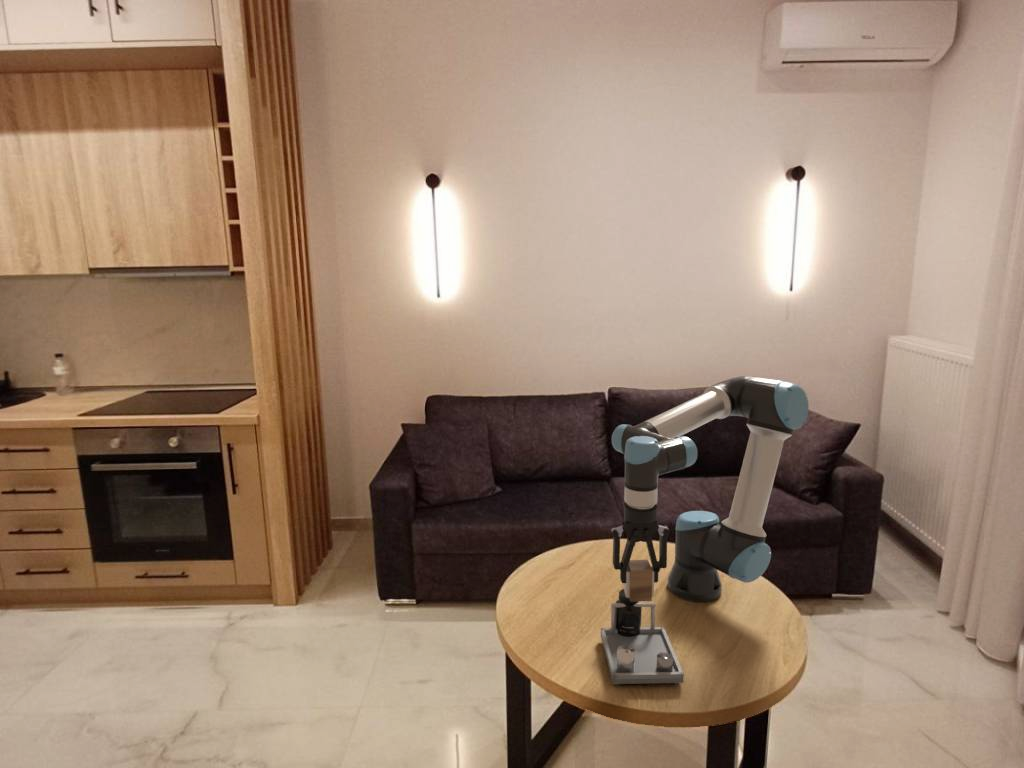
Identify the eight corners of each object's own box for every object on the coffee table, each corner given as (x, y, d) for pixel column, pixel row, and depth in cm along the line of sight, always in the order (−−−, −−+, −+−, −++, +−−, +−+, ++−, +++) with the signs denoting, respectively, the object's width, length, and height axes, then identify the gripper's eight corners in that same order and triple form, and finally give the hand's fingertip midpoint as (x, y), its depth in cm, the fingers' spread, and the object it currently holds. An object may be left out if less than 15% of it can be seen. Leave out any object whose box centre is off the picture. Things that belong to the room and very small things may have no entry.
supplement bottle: (624, 646, 153) (625, 603, 151) (608, 632, 159) (608, 590, 156) (646, 638, 156) (647, 595, 154) (629, 625, 162) (630, 583, 160)
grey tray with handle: (663, 638, 157) (664, 601, 154) (683, 687, 139) (684, 645, 137) (600, 640, 157) (601, 602, 154) (612, 688, 139) (613, 647, 137)
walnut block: (651, 601, 145) (652, 569, 143) (630, 601, 145) (630, 570, 143) (647, 589, 149) (647, 559, 148) (626, 590, 150) (626, 560, 148)
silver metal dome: (670, 663, 143) (670, 652, 143) (674, 674, 140) (674, 662, 139) (654, 664, 143) (655, 652, 143) (658, 674, 140) (659, 662, 139)
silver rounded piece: (632, 664, 143) (632, 644, 142) (635, 675, 140) (636, 655, 139) (615, 664, 143) (615, 645, 142) (618, 675, 140) (618, 656, 139)
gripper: (675, 495, 146) (672, 585, 151) (599, 497, 146) (599, 586, 151) (684, 508, 139) (680, 601, 143) (604, 510, 139) (603, 603, 143)
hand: (638, 593), depth 147 cm, fingers closed on walnut block, 5 cm apart
